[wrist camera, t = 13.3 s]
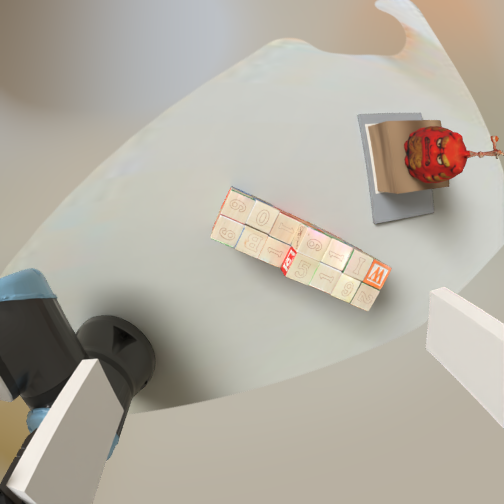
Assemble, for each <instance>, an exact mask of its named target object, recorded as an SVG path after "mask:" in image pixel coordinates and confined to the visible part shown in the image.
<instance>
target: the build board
mask: <svg viewBox="0 0 504 504" xmlns="http://www.w3.org/2000/svg"><path fill="white" fill-rule="evenodd" d="M357 116H358V121H359V126H360V132H361V137H362V143H363V149H364V155H365V161H366V167H367V174H368V182H369V189H370V197H371V206H372V215H373V223H375V224H376V223H382V222H387V221H392V220H397V219H403V218H408V217H413V216H418V215H424V214H429V213H434V205H433V193H432V189H427V190H420V191H413V192H407V193H400V194H395V193H388V192H382V191H378V188H377V180H376V173H375V166H374V160H373V153H372V147H371V141H370V136H369V130H368V126H371V125H375V124H378V123H382V122H385V121H406V120H422V115H421V113H378V114H359V115H357Z"/></svg>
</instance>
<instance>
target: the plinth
mask: <svg viewBox="0 0 504 504" xmlns="http://www.w3.org/2000/svg"><path fill="white" fill-rule="evenodd" d="M429 126H439V127H442V126H441V121H440V120H406V121H385V122H382V123H378V124H375V125H371V126H368V130H369V136H370V141H371V147H372V153H373V160H374V166H375V173H376V180H377V188H378V191H382V192H388V193H395V194H400V193H407V192H413V191H420V190H427V189H434V188H441V187H449V180H447V181H443V182H440V183H424V182H422V181H420V180H419V179H417V178H415V177H412V176H411V175H410V174H409V172H408V168H407V165H405V160H404V159H405V156H406V151H405V149H404V143H405V142H406V141H407V140H408V139H409V135H410V134H411V133H412V132H415V131H417V130H418V129H420V128H424V127H429Z"/></svg>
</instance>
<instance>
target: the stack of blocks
mask: <svg viewBox="0 0 504 504" xmlns="http://www.w3.org/2000/svg"><path fill="white" fill-rule="evenodd" d="M210 238H211V239H213V240H215V241H218V242H220V243H223V244H225V245H227V246H230V247H233V248H234V249H236V250H238V251H240V252H243V253H245V254H248V255H250V256H252V257H255V258H257V259H259V260H261V261H264V262H266V263H269V264H271V265H274V266H276V267H279V268H281V270H282V272H283V274H284V275H285V277H288V278H290V279H293V280H295V281H298V282H300V283H303V284H305V285H309V286H312V287H314V288H316V289H319V290H321V291H324V292H326V293H329V294H330V295H331V296H333V297H336V298H338V299H340V300H343V301H345V302H347V303H350V304H351V305H354V306H356V307H358V308H361V309H363V310H365V311H369V310H370V308H371V306H372V304H373V303H374V301H375V299H376V297H377V296H378V294H379V292H380V291H379V290H380V289H381V288H382V287H383V285H384V283H385V281H386V279H387V277H388V275H389V273H390V271H391V269H392V268H391V267H389V266H388V265H386V264H384V263H382V262H381V261H379V260H378V259H376V258H374V257H372V256H370V255H369V254H367V253H365V252H363V251H362V250H360V249H359V248H357V247H355V246H353V245H351V244H349V243H348V242H346V241H344V240H342V239H341V238H339V237H337V236H335V235H333V234H331V233H329V232H327V231H325V230H323V229H321V228H319V227H318V226H316V225H314V224H312V223H310V222H306V221H304V220H302V219H300V218H298V217H295V216H293V215H291V214H289V213H286V212H284V211H282V210H280V209H278V208H276V207H274V206H272V205H271V204H270V203H268V202H266V201H263V200H261V199H259V198H257V197H255V196H253V195H250V194H247V193H245V192H243V191H241V190H239V189H237V188H234V187H232V186H231V188H230V190H229V192H228V194H227V196H226V199H225V201H224V203H223V205H222V207H221V209H220V211H219V214H218V216H217V218H216V221H215V223H214V227H213V230H212V233H211V237H210Z"/></svg>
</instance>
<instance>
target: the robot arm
mask: <svg viewBox="0 0 504 504" xmlns="http://www.w3.org/2000/svg"><path fill="white" fill-rule="evenodd" d="M426 349H427V350H428V351H429V352H430V353H431V354H432V355H433V356H434V357H435V358H436V359H437V360H438V361H439V362H440V363H441V364H442V365H443V366H444V367H445V368H446V369H447V370H448V371H449V372H450V373H451V374H452V375H453V376H454V377H455V378H456V379H457V380H458V381H459V382H460V383H461V384H462V385H463V386H464V387H465V388H466V389H467V390H468V391H469V392H470V393H471V394H472V396H473V397H474V398H475V399H476V400H477V401H478V402H479V403H480V404H481V405H482V406H483V407H484V408H485V409H486V410H487V411H488V412H489V413H490V414H491V416H492V417H493V418H494V419H495V420H496V421H497V422H498V423H499V424H500V425H501V426H502V427H503V428H504V324H503V323H502V322H500V321H499V320H497V319H495V318H494V317H493V316H491V315H489V314H488V313H486V312H485V311H483V310H482V309H480V308H478V307H477V306H475V305H473V304H472V303H470V302H469V301H467V300H465V299H464V298H462V297H461V296H459V295H457V294H456V293H454V292H452V291H451V290H449V289H447V288H446V287H442V288H439V289H436V290H433V291H430V303H429V318H428V330H427V340H426ZM154 367H155V356H154V352H153V349H152V347H151V345H150V343H149V341H148V340H147V338H146V337H145V336H144V335H143V333H142V332H141V331H140V330H139V329H137V328H136V327H135V326H133V325H132V324H130V323H129V322H127V321H125V320H123V319H120V318H118V317H114V316H107V315H102V316H96V317H93V318H90V319H89V320H87V321H86V322H85V323H84V324H83V325H82V326H81V327H80V328H79V329H78V331H77V332H76V334H75V333H74V331H73V329H72V327H71V325H70V324H69V322H68V320H67V318H66V316H65V314H64V312H63V310H62V308H61V306H60V305H59V303H58V301H57V296H56V295H55V294H54V293H53V292H52V290H51V288H50V286H49V284H48V282H47V280H46V278H45V277H44V275H43V274H42V273H41V272H40V271H39V270H37V269H33V268H31V269H26V270H22V271H19V272H16V273H13V274H10V275H8V276H5V277H2V278H0V400H3V401H8V402H12V401H13V400H14V399H16V398H17V397H18V396H19V395H20V396H21V397H22V399H23V400H24V401H25V403H26V404H27V405H28V407H29V408H30V410H31V411H29V412H28V415H27V421H26V422H27V425H28V429H29V431H30V433H31V434H30V435H28V437H27V438H26V439H25V441H24V443H23V444H22V446H21V449H20V450H19V451H18V453H17V457H15V458H14V460H13V462H12V463H11V465H10V467H9V469H8V471H7V473H6V474H5V476H4V478H3V480H2V482H1V484H0V504H93V500H94V497H95V493H96V490H97V487H98V484H99V481H100V478H101V475H102V472H103V469H104V466H105V463H106V461H107V460H108V459H109V458H110V456H111V455H112V453H113V450H114V448H115V446H116V445H117V444H118V441H119V437H120V434H121V431H122V428H123V425H124V421H125V418H126V415H127V412H128V409H129V406H130V403H131V400H132V398H133V397H134V396H135V395H136V394H137V393H138V392H139V391H140V390H141V389H143V388H144V387H145V386H146V385H147V384H148V382H149V381H150V379H151V376H152V374H153V371H154Z"/></svg>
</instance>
